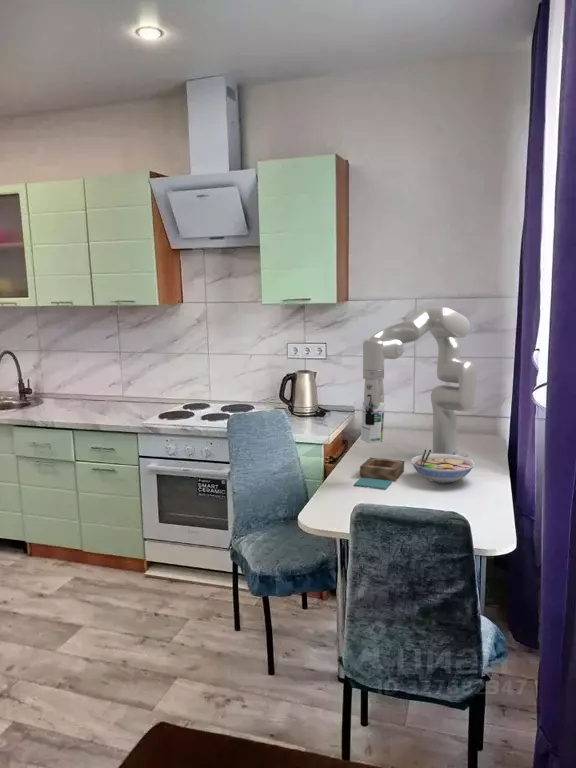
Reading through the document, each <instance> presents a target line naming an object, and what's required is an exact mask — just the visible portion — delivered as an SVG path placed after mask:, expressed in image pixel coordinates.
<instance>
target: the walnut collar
mask: <svg viewBox="0 0 576 768" xmlns="http://www.w3.org/2000/svg"><path fill="white" fill-rule="evenodd" d="M403 473H405V460H403V459H401V460H400V459H393V458H392V459H391V458H390V459H389V458H380V457H371V456H370V457H369V458H367V460H366V461H364V462H363V463H362V464H361V465H360V466H359V479H360V478H361V477H362V478H371V479H380V480H388V481H392V483H396V482H397V480H398V479H399V478H400V477H401V476H402V475H403Z"/></svg>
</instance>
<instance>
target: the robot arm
mask: <svg viewBox="0 0 576 768" xmlns="http://www.w3.org/2000/svg"><path fill="white" fill-rule="evenodd" d="M470 331H471V324H470V321H469V319H468V318H467V317H466V316H465V315H463V314H461V313H460V312H458V311H456V310H454V309H452V308H450V307H447V306H425V307H422V308H421V309H418V310H417V312H415V313H413V314H412V315H411V316H410V317H408V318H407V319H406V320H404V321H402V322H399V323H396V324H394V325H391V326H388V327H385V328H383V329H381V330H380V331H378V332H376V333H375V334H374V335H372V336H371V337H370V338H368V339H365V340H364V341H363V343H362V379H364V389H363V390H364V391H363V402H364V405H365V424H366V425H374V414H373V413H374V407H375V406H376V407H378V406H380V403H382V402H383V403H384V404H385V394H384V393H385V391H384V390H385V389H384V379H385V360H387V359H389V360H396V359H398V358H400V357H401V356H402V355H403V354H404V352H405V345H404V344H407V343H412V342H416V341H417V340H419V339H421V338H422V337H423V336H424V335H425V334H426V333H428V332H429V333H430V334H431V335H432V337H433V338H434V339H435V341H436V344H437V346H438V347H437V348H438V349H437V350H438V354H437V362H436V363H437V365H436V376H437V379H438V380H439V381H440V382H446V383H452V384H458V386H454V385H443V384H441V385H437V386H435V387H434V388H433V389H432V390H431V393H430V402H431V406H432V449H431V452H432V453H431V454H451V455H458V456H462V457H466V458H468V454H466V453H460V452H459V450H458V449H457V435H458V434H457V432H458V429H457V428H458V427H457V426H458V419H457V416H456V412H468V411H471V409H472V408H473V407H474V404H475V400H476V399H475V395H476V388H477V387H476V386H477V373H478V372H477V368H476V365H475V364H474V363H473V362H472V361H470V360H467V359H466V360H465V359H461V347H460V343H459V340H458V339H462V338H465V337H467V335H469V333H470ZM370 404H373V405H370ZM371 407H372V410H371ZM455 411H456V412H455Z"/></svg>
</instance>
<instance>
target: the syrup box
mask: <svg viewBox="0 0 576 768" xmlns="http://www.w3.org/2000/svg"><path fill="white" fill-rule="evenodd" d="M385 404H386V403H385V402H384V403H383V402H382V403H380V406H378V407H376V406H375V407H374V413H373V414H374V425H366V424H365V405H364V401H362V410H361V411H362V413H361V428H360V440H361V441H363V442H365V443H367V444H373V443H383V435H384V434H383V433H384V420H385ZM370 405H373V404H370ZM371 410H372V407H371Z"/></svg>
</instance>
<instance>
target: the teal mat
mask: <svg viewBox="0 0 576 768" xmlns="http://www.w3.org/2000/svg"><path fill="white" fill-rule="evenodd" d="M392 484H393V482H392V481H388V480H380V479H371V478H362V477H361V478H360V477H359V479H358V480H357V481H355V483H353V487H359V486H361V487H362V488H367V487H369V488H370V489H377V490H384V491H385V490H387V489H388V488H389V487H390V486H391V485H392ZM361 487H360V488H361ZM369 488H368V489H369Z"/></svg>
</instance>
